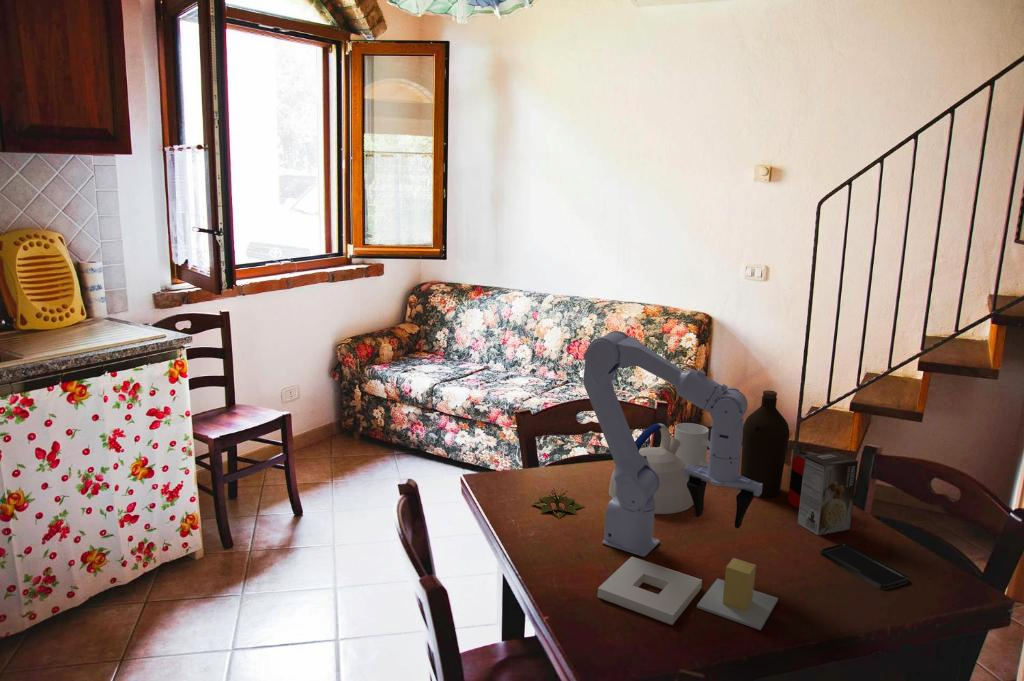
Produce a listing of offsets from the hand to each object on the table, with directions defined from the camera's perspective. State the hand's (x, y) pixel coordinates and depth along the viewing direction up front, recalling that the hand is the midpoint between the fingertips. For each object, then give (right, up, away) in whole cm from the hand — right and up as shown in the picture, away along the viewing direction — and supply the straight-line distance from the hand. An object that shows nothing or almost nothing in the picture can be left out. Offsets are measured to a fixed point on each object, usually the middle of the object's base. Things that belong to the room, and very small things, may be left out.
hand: (718, 520), depth 138 cm
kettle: (-6, -3, +33) cm, 34 cm away
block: (0, -12, -12) cm, 16 cm away
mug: (+8, +1, +51) cm, 52 cm away
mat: (0, -12, -11) cm, 16 cm away
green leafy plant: (-29, -4, +26) cm, 39 cm away
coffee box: (+29, -7, +20) cm, 36 cm away
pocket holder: (-15, -11, -8) cm, 20 cm away
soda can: (+29, -4, +31) cm, 43 cm away
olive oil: (+21, -2, +39) cm, 44 cm away
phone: (+29, -10, +3) cm, 31 cm away
